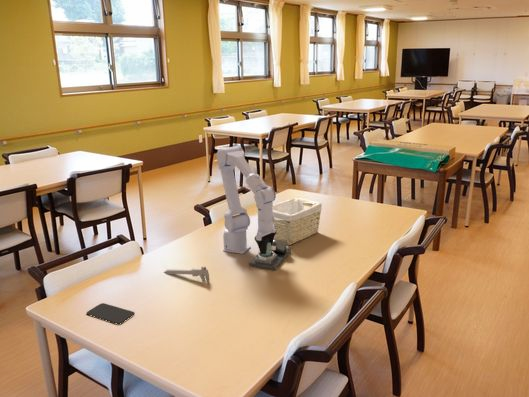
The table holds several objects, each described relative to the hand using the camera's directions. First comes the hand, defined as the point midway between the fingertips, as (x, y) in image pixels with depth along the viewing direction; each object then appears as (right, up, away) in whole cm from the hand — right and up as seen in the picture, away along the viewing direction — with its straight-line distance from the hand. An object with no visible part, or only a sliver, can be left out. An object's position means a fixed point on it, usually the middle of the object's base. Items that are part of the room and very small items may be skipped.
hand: (265, 251), depth 177 cm
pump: (0, -2, +1) cm, 2 cm away
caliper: (-30, -9, -8) cm, 32 cm away
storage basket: (+13, +3, +30) cm, 33 cm away
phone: (-50, -17, -32) cm, 62 cm away
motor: (+2, -4, +6) cm, 7 cm away
